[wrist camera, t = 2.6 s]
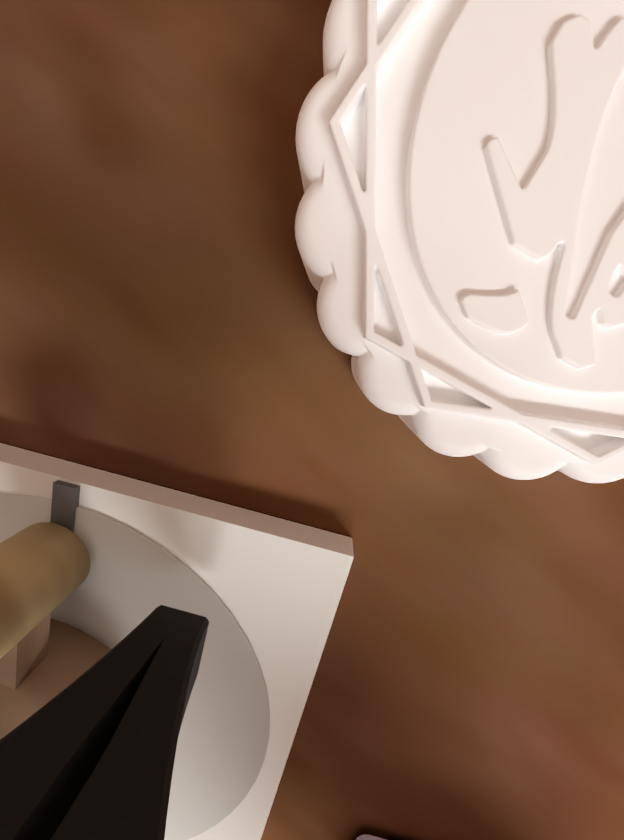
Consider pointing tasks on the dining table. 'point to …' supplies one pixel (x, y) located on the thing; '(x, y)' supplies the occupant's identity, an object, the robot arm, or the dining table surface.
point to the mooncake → (475, 223)
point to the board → (206, 596)
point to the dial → (40, 620)
